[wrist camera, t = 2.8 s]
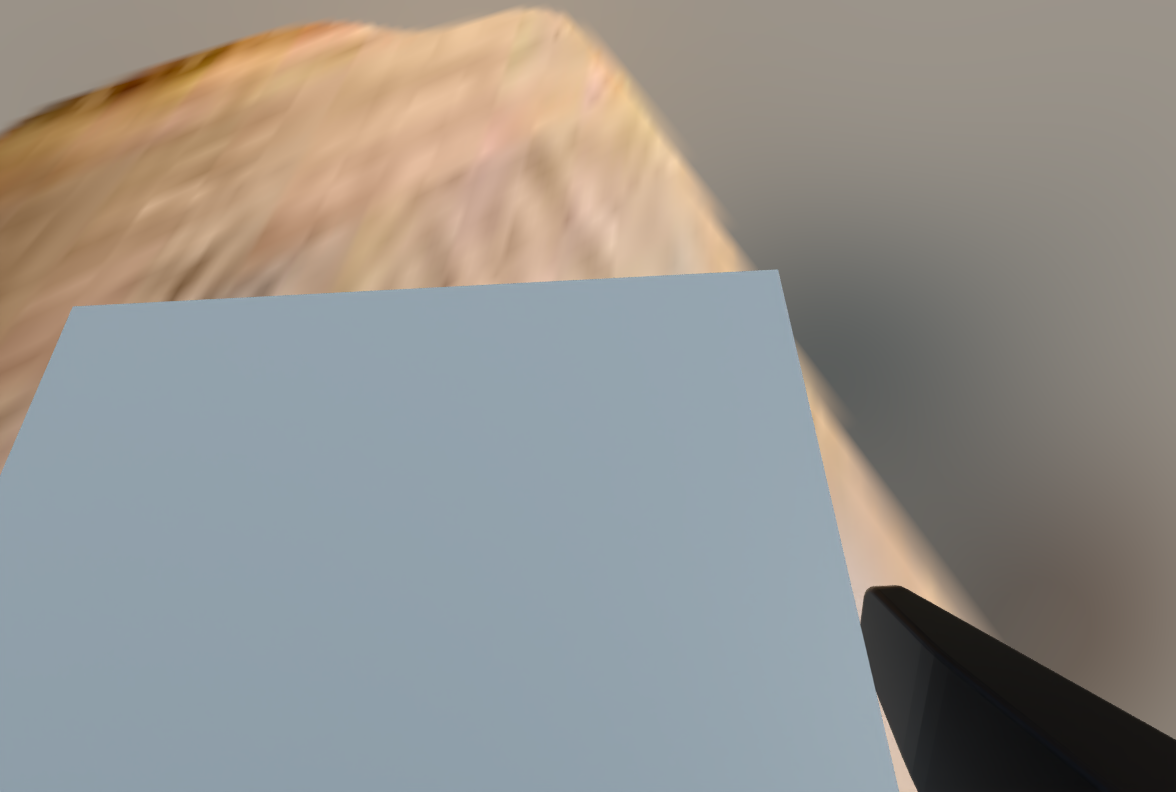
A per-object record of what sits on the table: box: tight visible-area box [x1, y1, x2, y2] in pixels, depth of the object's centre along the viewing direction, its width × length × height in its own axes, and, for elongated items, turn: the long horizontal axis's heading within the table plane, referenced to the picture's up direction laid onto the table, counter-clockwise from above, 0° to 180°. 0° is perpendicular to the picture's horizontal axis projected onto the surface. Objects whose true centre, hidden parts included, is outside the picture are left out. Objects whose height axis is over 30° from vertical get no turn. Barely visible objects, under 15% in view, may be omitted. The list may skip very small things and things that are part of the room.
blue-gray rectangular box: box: [0, 270, 899, 792], centre depth 8 cm, size 6×4×12 cm
